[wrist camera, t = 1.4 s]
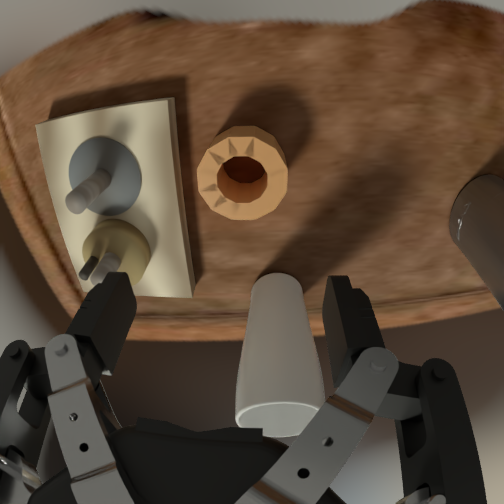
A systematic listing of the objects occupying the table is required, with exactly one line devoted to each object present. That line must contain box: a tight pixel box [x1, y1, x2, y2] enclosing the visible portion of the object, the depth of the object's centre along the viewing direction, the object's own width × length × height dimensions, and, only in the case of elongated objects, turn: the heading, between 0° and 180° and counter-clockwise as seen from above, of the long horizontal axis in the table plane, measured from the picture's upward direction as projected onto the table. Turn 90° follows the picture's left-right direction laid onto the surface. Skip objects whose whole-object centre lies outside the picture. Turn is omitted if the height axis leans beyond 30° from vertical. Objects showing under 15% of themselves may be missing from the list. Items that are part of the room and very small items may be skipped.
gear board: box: [36, 97, 196, 298], centre depth 25 cm, size 13×19×7 cm
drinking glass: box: [236, 273, 325, 437], centre depth 27 cm, size 7×7×15 cm
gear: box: [197, 126, 288, 220], centre depth 24 cm, size 6×6×4 cm
